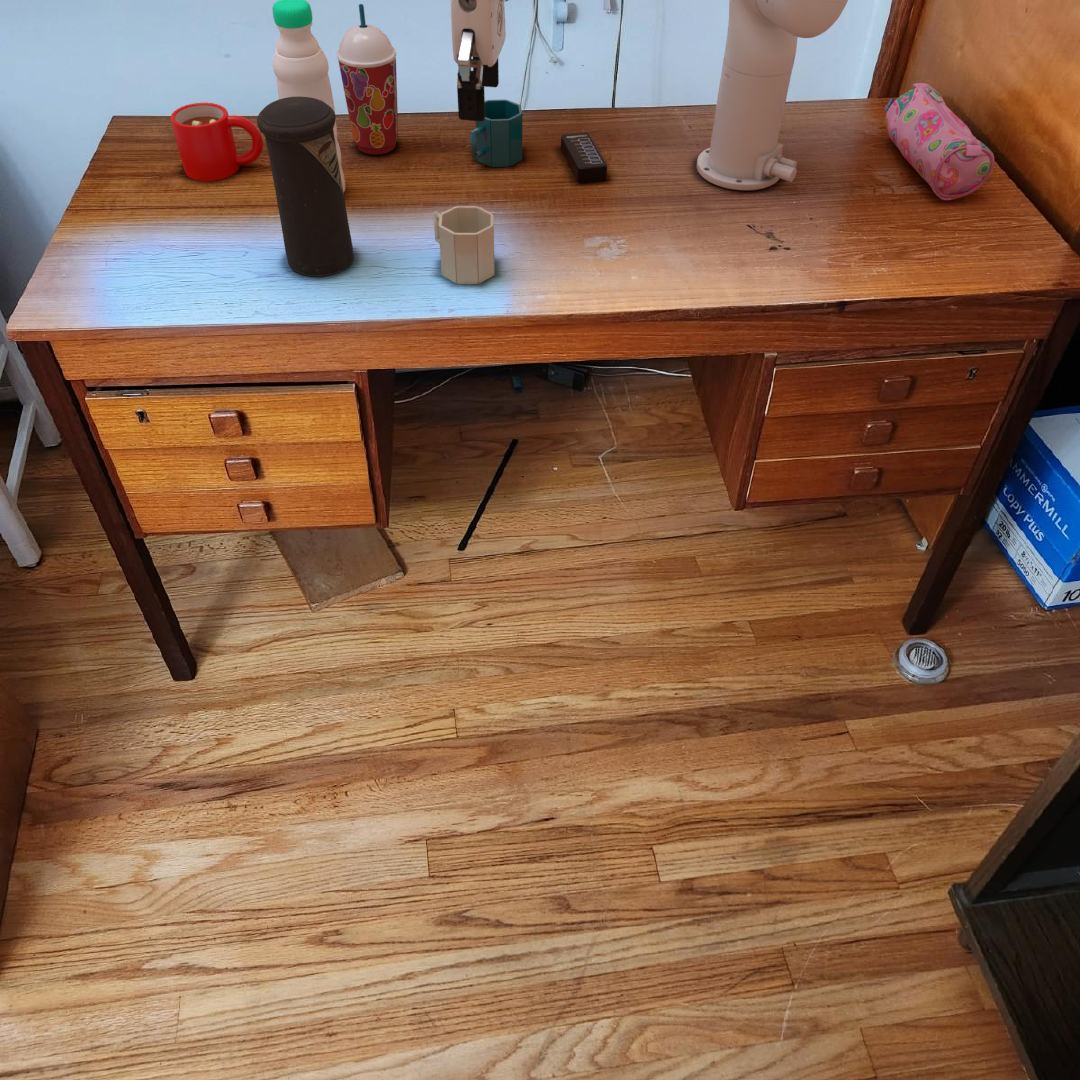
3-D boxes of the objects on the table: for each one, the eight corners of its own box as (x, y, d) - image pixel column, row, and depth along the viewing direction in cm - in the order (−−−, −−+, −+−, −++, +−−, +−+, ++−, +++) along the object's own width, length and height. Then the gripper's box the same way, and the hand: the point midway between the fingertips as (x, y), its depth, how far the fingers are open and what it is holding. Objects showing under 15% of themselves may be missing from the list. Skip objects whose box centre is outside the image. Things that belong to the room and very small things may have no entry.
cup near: (505, 269, 124) (504, 220, 119) (467, 290, 121) (465, 240, 116) (455, 241, 129) (453, 192, 123) (417, 261, 125) (413, 212, 120)
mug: (266, 178, 139) (255, 124, 133) (181, 182, 138) (166, 128, 132) (269, 152, 144) (259, 100, 138) (187, 156, 143) (173, 103, 137)
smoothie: (408, 135, 149) (397, -5, 134) (398, 161, 143) (384, 18, 128) (356, 132, 149) (338, -8, 134) (343, 157, 144) (323, 14, 129)
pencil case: (874, 136, 152) (891, 78, 145) (929, 135, 152) (949, 77, 146) (921, 205, 137) (942, 144, 131) (983, 204, 138) (1007, 143, 131)
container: (360, 273, 123) (339, 118, 108) (289, 283, 121) (258, 127, 106) (349, 238, 129) (328, 86, 114) (281, 247, 127) (251, 94, 112)
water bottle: (301, 179, 139) (268, -9, 120) (349, 181, 139) (324, -7, 120) (291, 204, 134) (255, 12, 116) (341, 206, 134) (313, 14, 116)
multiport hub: (578, 183, 140) (578, 168, 138) (560, 148, 147) (560, 134, 145) (607, 180, 141) (608, 165, 139) (587, 146, 148) (588, 131, 146)
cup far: (496, 141, 148) (495, 95, 143) (530, 155, 145) (531, 108, 140) (455, 163, 143) (453, 116, 138) (490, 178, 140) (489, 131, 135)
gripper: (493, -22, 102) (496, 136, 115) (519, -73, 113) (519, 75, 126) (424, -27, 103) (435, 131, 115) (456, -77, 114) (463, 71, 127)
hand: (479, 102), depth 121 cm, fingers open, 9 cm apart
